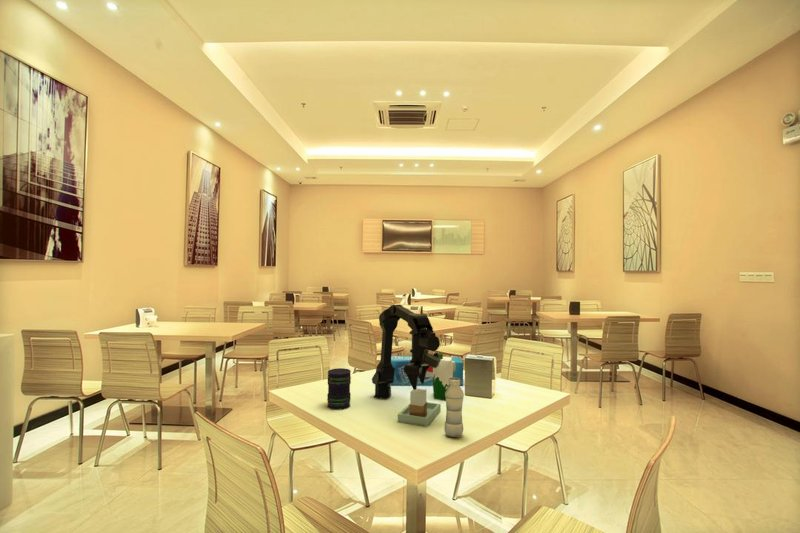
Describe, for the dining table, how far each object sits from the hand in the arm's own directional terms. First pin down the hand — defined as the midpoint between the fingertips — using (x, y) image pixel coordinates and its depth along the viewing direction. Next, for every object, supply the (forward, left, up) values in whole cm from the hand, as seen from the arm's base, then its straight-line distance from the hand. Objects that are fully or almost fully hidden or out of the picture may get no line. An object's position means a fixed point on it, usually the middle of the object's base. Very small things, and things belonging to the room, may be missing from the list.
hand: (418, 386), depth 155 cm
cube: (0, 0, -7) cm, 7 cm away
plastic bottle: (+17, -11, -13) cm, 24 cm away
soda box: (-14, +49, -13) cm, 53 cm away
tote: (0, +2, -12) cm, 13 cm away
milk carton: (+2, +29, -13) cm, 32 cm away
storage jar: (-36, 0, -13) cm, 38 cm away
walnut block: (0, 0, -12) cm, 12 cm away
